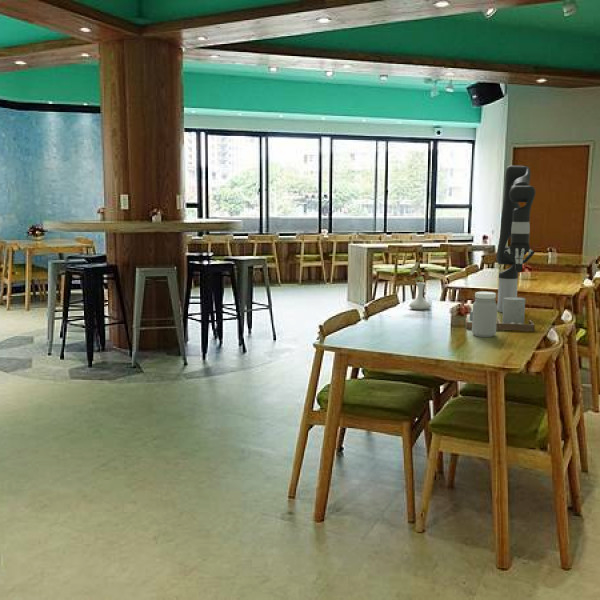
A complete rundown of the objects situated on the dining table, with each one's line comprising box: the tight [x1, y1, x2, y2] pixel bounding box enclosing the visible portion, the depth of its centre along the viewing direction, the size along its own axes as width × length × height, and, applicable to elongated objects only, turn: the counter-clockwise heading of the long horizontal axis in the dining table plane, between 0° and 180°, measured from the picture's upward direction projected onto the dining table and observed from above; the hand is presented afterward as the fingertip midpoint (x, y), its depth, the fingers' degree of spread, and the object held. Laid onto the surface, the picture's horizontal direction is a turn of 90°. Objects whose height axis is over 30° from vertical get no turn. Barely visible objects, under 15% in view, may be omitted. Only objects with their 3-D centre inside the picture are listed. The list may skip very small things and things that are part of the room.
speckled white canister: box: [501, 296, 526, 324], centre depth 294 cm, size 10×10×12 cm
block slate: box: [469, 309, 473, 321], centre depth 309 cm, size 4×4×4 cm
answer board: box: [465, 317, 535, 332], centre depth 287 cm, size 12×28×3 cm, turn 78°
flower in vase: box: [408, 261, 432, 311], centre depth 336 cm, size 13×11×25 cm
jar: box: [471, 291, 498, 338], centre depth 271 cm, size 10×10×18 cm
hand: (518, 272), depth 282 cm, fingers closed
